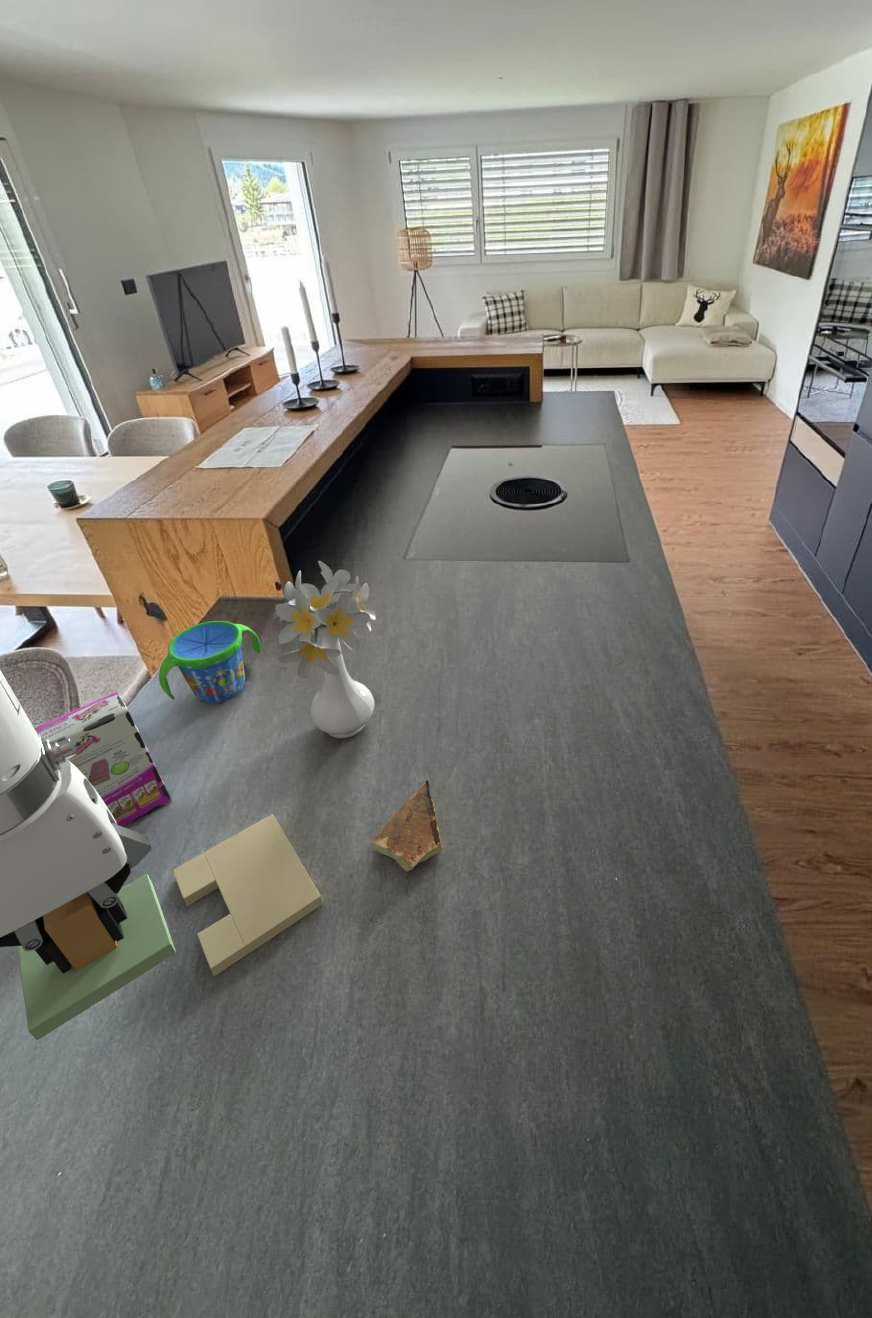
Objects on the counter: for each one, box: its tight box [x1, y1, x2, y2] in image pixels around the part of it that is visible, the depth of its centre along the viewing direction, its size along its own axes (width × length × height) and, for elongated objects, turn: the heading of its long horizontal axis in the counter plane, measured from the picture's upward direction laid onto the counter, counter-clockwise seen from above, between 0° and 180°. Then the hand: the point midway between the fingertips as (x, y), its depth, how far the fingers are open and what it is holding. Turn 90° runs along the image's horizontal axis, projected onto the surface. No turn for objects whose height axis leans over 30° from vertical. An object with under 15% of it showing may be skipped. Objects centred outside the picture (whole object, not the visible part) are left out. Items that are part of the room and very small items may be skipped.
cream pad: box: [172, 813, 324, 977], centre depth 70 cm, size 12×14×2 cm
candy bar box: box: [34, 690, 172, 828], centre depth 76 cm, size 11×5×16 cm, turn 131°
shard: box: [372, 779, 444, 872], centre depth 76 cm, size 11×8×2 cm
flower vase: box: [272, 560, 377, 739], centre depth 86 cm, size 13×18×25 cm
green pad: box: [17, 874, 177, 1041], centre depth 51 cm, size 11×10×8 cm
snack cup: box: [158, 620, 262, 704], centre depth 98 cm, size 16×10×10 cm
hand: (90, 940), depth 51 cm, fingers closed on green pad, 3 cm apart
